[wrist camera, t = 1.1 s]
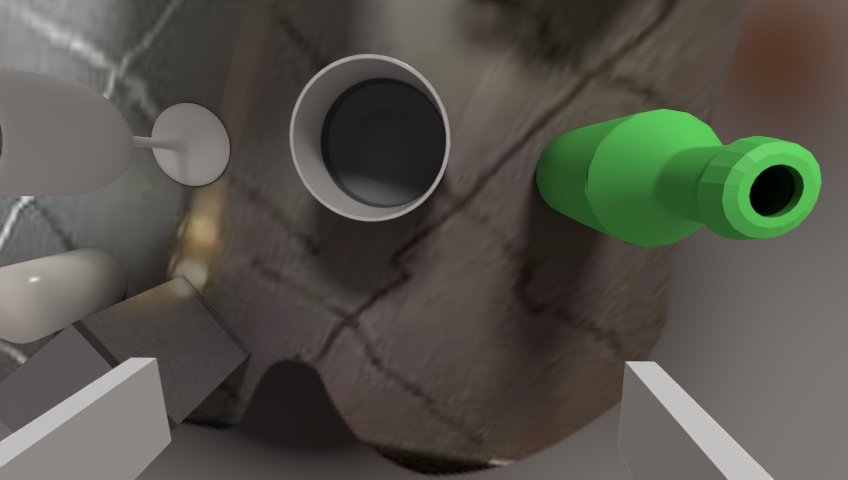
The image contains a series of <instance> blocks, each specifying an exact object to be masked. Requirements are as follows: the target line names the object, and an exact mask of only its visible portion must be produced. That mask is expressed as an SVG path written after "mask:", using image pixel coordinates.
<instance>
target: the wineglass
mask: <svg viewBox="0 0 848 480" xmlns="http://www.w3.org/2000/svg"><path fill="white" fill-rule="evenodd" d="M133 148H152V149H153V153H154V156H155V158H156V160H157V162H158V164H159V166H160V167H161V168H162V170H163V171H164V172H165V173H166V174H167V175H168V176H169V177H171V178H172V179H174V180H175V181H177V182H179V183H182V184H185V185H189V186H201V185H205V184H208V183H211V182H212V181H214V180H215V179H217V178H218V177H219V176H220V175H221V174H222V173H223V171H224V170H225V168H226V166H227V163H228V160H229V155H230V143H229V138H228V135H227V132H226V130H225V128H224V126H223V124H222V123H221V121H220V120H219V119H218V118H217V117H216V116H215V115H214V114H213V113H212V112H211V111H209V110H208V109H206V108H204V107H202V106H200V105H197V104H193V103H180V104H176V105H173V106H171V107H169V108H167V109H166V110H164V111H163V112H162V113H161V114H160V116H159V117H158V118H157V120H156V122H155V124H154V127H153V130H152V137H151V138H149V137H139V136H133V135H132V132H131V129H130V127H129V124H128V122H127V121H126V119H125V118H124V116H123V115H122V113H121V112H120V111H119V110H118V108H117V107H116V106H115V105H114V104H112V103H111V102H110V101H109V100H108V99H107V98H105V97H104V96H102V95H101V94H99V93H98V92H96V91H94V90H92V89H90V88H88V87H86V86H84V85H81V84H79V83H76V82H73V81H70V80H66V79H63V78H59V77H55V76H51V75H47V74H42V73H37V72H31V71H25V70H17V69H7V68H0V194H2V195H16V196H58V195H69V194H76V193H82V192H87V191H92V190H95V189H98V188H101V187H103V186H106V185H108V184H109V183H111V182H113V181H114V180H116V179H117V178H118V177H119V176H120V175H121V174H122V173H123V172H124V171H125V169H126V168H127V166H128V165H129V163H130V161H131V158H132V155H133Z"/></svg>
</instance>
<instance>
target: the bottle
mask: <svg viewBox="0 0 848 480" xmlns="http://www.w3.org/2000/svg"><path fill="white" fill-rule="evenodd" d="M536 182H537V185H538V188H539V192H540V195H541V196H542V198H543V199H544V200H545V201H546V203H547V204H548V205H549V206H550V207H551V208H553V209H554V210H556V211H558V212H560V213H561V214H563V215H565V216H567V217H570V218H572V219H574V220H576V221H578V222H580V223H582V224H584V225H587V226H589V227H591V228H593V229H596V230H598V231H600V232H602V233H605V234H607V235H609V236H612V237H614V238H616V239H618V240H621V241H623V242H625V243H628V244H634V245H639V246H644V247H653V246H659V245H666V244H672V243H674V242H676V241H678V240H680V239H682V238H684V237H686V236H688V235H690V234H692V233H694V232H696V231H697V230H698V228H700V227H701V226H702V225H703V224H706V226H707V227H708V229H710V230H711V231H713V232H714V233H716V234H718V235H719V236H721V237H724V238H730V239H736V240H747V239H764V238H769V237H775V236H780V235H782V234H784V233H786V232H788V231H790V230H791V229H793V228H795V227H797V226H798V225H799V224H800V222H802V221H803V220H804V219H805V218H806V217H807V216H808V215H809V214H810V212H811V210H812V208H813V206H814V204H815V202H816V200H817V199H818V195H819V191H820V187H821V175H820V168H819V165H818V163H817V162H816V160H815V159H814V157H813V155H812V154H811V152H809V151H807V150H806V149H804V148H803V147H801V146H799V145H798V144H795V143H791V142H787V141H783V140H779V139H775V138H769V137H762V136H753V137H748V138H743V139H738V140H737V141H735V142H733V143H732V144H730V145H725V146H723V145H722V143H721V142H720V141H719V139H718V138H717V136H716V135H715V134H714V132H713V131H712V129H711V128H710V127H709V126H708V125H707V124H705V123H704V122H702V121H700V120H699V119H697V118H695V117H694V116H692V115H690V114H689V113H685V112H679V111H673V110H667V109H660V110H654V111H649V112H644V113H638V114H634V115H630V116H626V117H622V118H618V119H614V120H610V121H606V122H602V123H598V124H595V125H591V126H587V127H583V128H579V129H575V130H572V131H568V132H566V133H564V134H562V135H561V136H559V137H557V138H556V139H554V140H553V141H552V142H551V143H550V144H549V145H548V147H547V148H546V149H545V150H544V151H543V153H542V155H541V158H540V160H539V163H538V165H537V176H536Z"/></svg>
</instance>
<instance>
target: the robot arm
mask: <svg viewBox="0 0 848 480" xmlns="http://www.w3.org/2000/svg"><path fill="white" fill-rule="evenodd" d="M170 442H171V436H170V430H169V425H168V419H167V414H166V408H165V403H164V397H163V392H162V386H161V381H160V375H159V370H158V364H157V359H156V358H130V359H128V360H126V361H125V362H123V363H122V364H120V365H119V366H117V367H116V368H114V369H112V370H111V371H109V372H108V373H106V374H105V375H103V376H102V377H100V378H99V379H97V380H95V381H94V382H92V383H91V384H89V385H88V386H86V387H85V388H83V389H81V390H80V391H78V392H77V393H75V394H74V395H72V396H71V397H69V398H67V399H66V400H64V401H63V402H61V403H60V404H58V405H57V406H55V407H53V408H52V409H50V410H49V411H47V412H46V413H44V414H43V415H41V416H39V417H38V418H36V419H35V420H33V421H32V422H30V423H29V424H27V425H26V426H24V427H22V428H21V429H19V430H18V431H16V432H15V433H13V434H12V435H10V436H8V437H7V438H5V439H4V440H2V441H1V442H0V480H135V479H136V478H137V476H138V475H139V474H140V473H141V472H142V471H143V470H144V469H145V468H146V467H147V466H148V465H149V464H150V463H151V462H152V461H153V460H154V459H155V458H156V457H157V456H158V455H159V454H160V453H161V451H162V450H163V449H164V448H165V447H166V446H167V445H168V444H169V443H170ZM617 451H618V452H619V455H620V456H621V458H622V460H623V462H624V463H625V465H626V467H627V468H628V470H629V472H630V474H631V475H632V477H633V479H634V480H774V479H773V478H772V477H771V476H770V475H769V474H768V473H767V472H766V471H765V470H764V469H763V468H762V467H761V466H760V465H759V464H758V463H757V462H756V461H755V460H754V459H752V457H751V456H750V455H748V453H747V452H746V451H745V450H743V448H741V447H740V446H739V445H738V444H737V443H736V442H735V441H734V440H733V439H732V438H731V437H730V436H729V435H728V434H727V433H726V432H725V431H724V430H723V429H722V428H721V427H720V426H719V425H718V424H717V423H716V422H715V421H714V420H713V419H712V418H711V417H710V416H709V415H708V414H707V413H706V412H705V411H704V410H703V409H702V408H701V407H700V406H699V405H698V404H697V403H696V402H695V401H694V400H693V399H692V398H691V397H690V396H689V395H688V394H687V393H686V392H685V391H684V390H683V389H682V388H681V387H680V386H679V385H678V384H677V383H676V382H675V381H674V380H673V379H672V378H671V377H670V376H669V375H668V374H667V373H666V372H665V371H664V370H663V369H662V368H661V367H660V366H659V365H658V364H657V363H656V362H625V372H624V383H623V393H622V404H621V414H620V425H619V435H618V446H617Z"/></svg>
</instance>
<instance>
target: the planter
mask: <svg viewBox="0 0 848 480" xmlns="http://www.w3.org/2000/svg"><path fill="white" fill-rule="evenodd" d="M289 138H290V149H291V154H292V158H293V162H294V165H295V168H296V170H297V172H298V174H299V176H300V178H301V180H302V182H303V183H304V185H305V186H306V188H307V189H308V190H309V192H310V193H311V194H312V195H313V196H314V197H315V198H316V199H317V200H318V201H319V202H320V203H322V204H323V205H324V206H326V207H327V208H329V209H330V210H332V211H334V212H335V213H337V214H339V215H342V216H344V217H347V218H350V219H354V220H359V221H368V222H375V221H385V220H390V219H393V218H396V217H399V216H402V215H404V214H406V213H408V212H410V211H412V210H413V209H415V208H416V207H418V206H419V205H420V204H421V203H423V202H424V201H425V200H426V199H427V198H428V197H429V196H430V195H431V193H432V192H433V191H434V189H435V188H436V187H437V185H438V183H439V182H440V180H441V178H442V176H443V174H444V171H445V169H446V166H447V162H448V158H449V153H450V127H449V122H448V118H447V114H446V111H445V108H444V106H443V103H442V101H441V99H440V97H439V96H438V94H437V92H436V91H435V89H434V88H433V87H432V85H431V84H430V83H429V82H428V81H427V80H426V79H425V78H424V77H423V76H422V75H421V74H420V73H419V72H417V71H416V70H415V69H413V68H412V67H410V66H409V65H407V64H405V63H403V62H401V61H399V60H397V59H394V58H391V57H387V56H383V55H376V54H360V55H353V56H349V57H346V58H342V59H340V60H337V61H335V62H333V63H331V64H329V65H328V66H326V67H325V68H323V69H322V70H321V71H319V72H318V73H317V74H316V75H315V76H314V77H313V78H312V79H311V80H310V81H309V82H308V83H307V85H306V86H305V87H304V89H303V91H302V92H301V94H300V96H299V98H298V100H297V102H296V104H295V107H294V110H293V113H292V117H291V122H290V133H289Z"/></svg>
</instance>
